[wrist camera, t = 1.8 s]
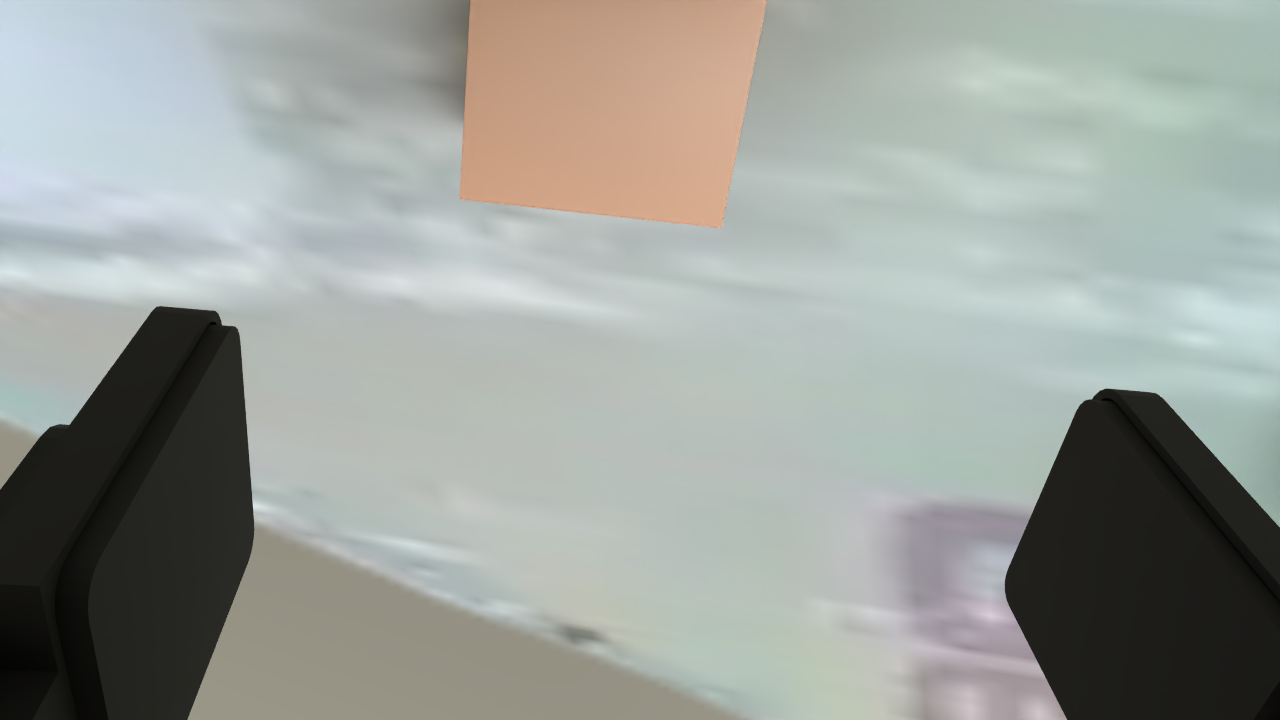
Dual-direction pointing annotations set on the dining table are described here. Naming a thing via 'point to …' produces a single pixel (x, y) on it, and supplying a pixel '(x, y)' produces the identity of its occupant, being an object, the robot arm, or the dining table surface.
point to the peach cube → (608, 105)
